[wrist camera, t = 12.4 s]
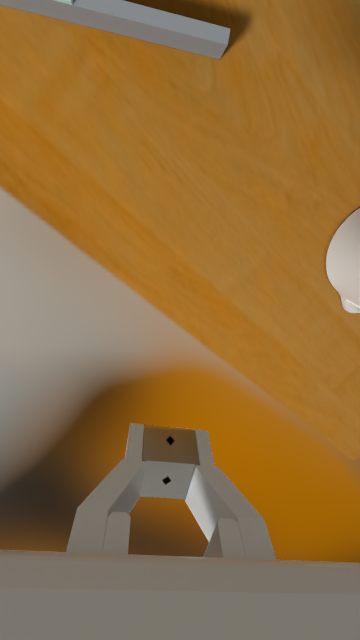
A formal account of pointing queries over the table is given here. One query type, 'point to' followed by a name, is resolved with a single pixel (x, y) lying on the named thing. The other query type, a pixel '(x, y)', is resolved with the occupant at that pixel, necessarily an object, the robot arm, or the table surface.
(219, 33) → the bay
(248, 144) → the table surface
